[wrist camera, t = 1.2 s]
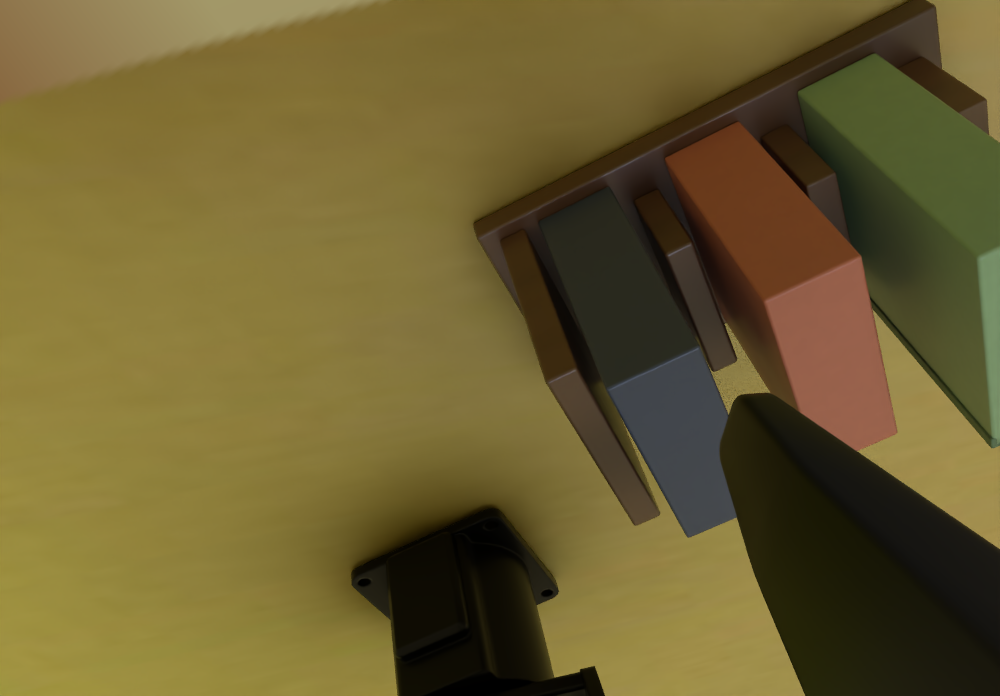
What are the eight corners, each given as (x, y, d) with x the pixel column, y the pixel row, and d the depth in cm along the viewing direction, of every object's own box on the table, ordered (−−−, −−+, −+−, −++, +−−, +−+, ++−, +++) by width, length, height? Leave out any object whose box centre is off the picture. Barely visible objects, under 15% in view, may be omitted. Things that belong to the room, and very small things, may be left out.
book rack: (943, 203, 27) (1096, 337, 22) (565, 380, 29) (623, 542, 24) (919, -6, 22) (1106, 102, 17) (471, 223, 24) (518, 381, 19)
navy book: (675, 337, 27) (766, 505, 22) (613, 367, 28) (688, 539, 22) (609, 184, 23) (700, 346, 18) (536, 220, 24) (605, 389, 18)
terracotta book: (787, 285, 27) (899, 434, 22) (722, 315, 27) (817, 469, 22) (738, 119, 23) (862, 255, 18) (663, 157, 23) (763, 301, 18)
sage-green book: (905, 231, 26) (1086, 410, 20) (834, 264, 27) (991, 449, 21) (877, 50, 22) (1093, 205, 16) (793, 91, 22) (975, 259, 16)
